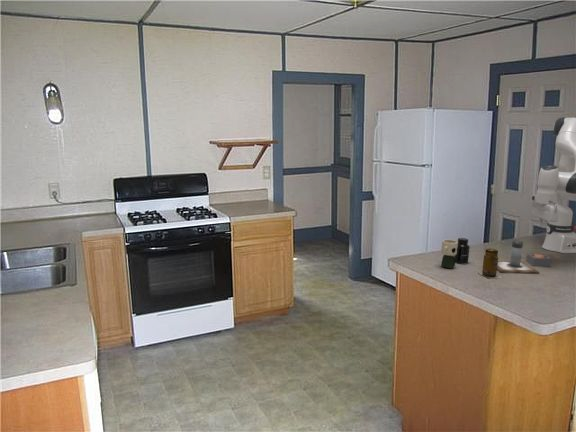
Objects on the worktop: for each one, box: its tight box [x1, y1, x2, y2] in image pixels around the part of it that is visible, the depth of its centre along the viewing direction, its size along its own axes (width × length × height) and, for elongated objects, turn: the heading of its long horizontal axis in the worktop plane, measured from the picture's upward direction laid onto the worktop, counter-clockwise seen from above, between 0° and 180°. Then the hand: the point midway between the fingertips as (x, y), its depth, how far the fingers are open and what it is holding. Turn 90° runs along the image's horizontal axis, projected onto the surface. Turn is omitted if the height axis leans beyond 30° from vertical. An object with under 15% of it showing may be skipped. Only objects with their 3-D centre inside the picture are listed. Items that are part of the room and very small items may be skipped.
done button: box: [534, 253, 545, 258], centre depth 237 cm, size 4×4×3 cm
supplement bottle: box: [454, 237, 471, 265], centre depth 238 cm, size 7×7×12 cm
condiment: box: [478, 248, 504, 279], centre depth 218 cm, size 7×8×12 cm
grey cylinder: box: [509, 239, 524, 267], centre depth 229 cm, size 5×5×12 cm
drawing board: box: [497, 260, 540, 275], centre depth 230 cm, size 18×16×1 cm
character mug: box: [440, 238, 458, 269], centre depth 229 cm, size 11×7×13 cm, turn 139°
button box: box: [525, 253, 552, 268], centre depth 237 cm, size 8×8×4 cm
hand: (542, 227), depth 234 cm, fingers closed
